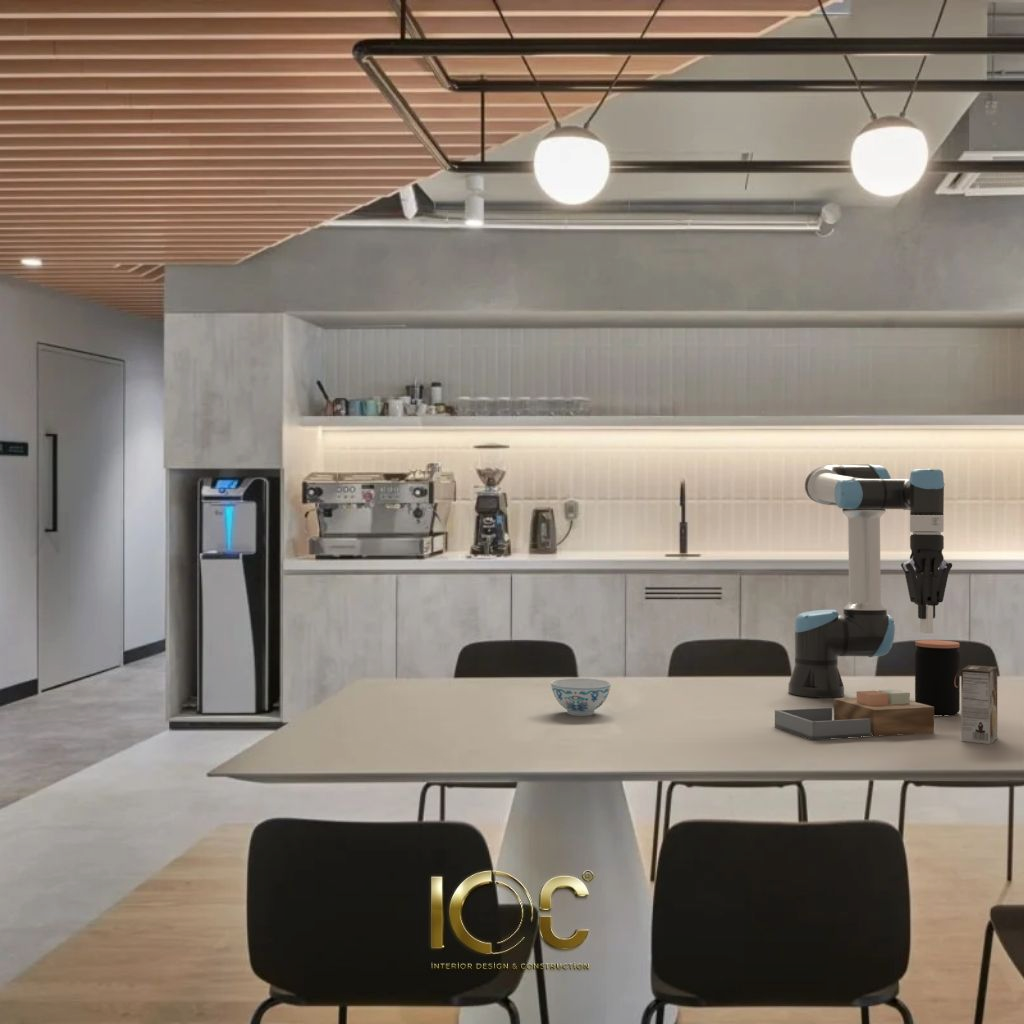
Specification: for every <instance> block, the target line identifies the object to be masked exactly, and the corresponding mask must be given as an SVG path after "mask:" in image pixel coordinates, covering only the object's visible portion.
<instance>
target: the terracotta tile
mask: <svg viewBox="0 0 1024 1024" xmlns="http://www.w3.org/2000/svg"><path fill="white" fill-rule="evenodd" d="M856 698H857V702H858V703H862V704H866V705H888V694H887V693H883V692H879V691H878V690H859V691H858V690H856Z"/></svg>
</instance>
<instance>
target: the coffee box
mask: <svg viewBox="0 0 1024 1024" xmlns="http://www.w3.org/2000/svg"><path fill="white" fill-rule="evenodd" d="M960 673H961V674H960V676H961V677H960V679H961V680H960V686H961V690H960V692H961V695H960V697H961V703H960V705H961V706H960V710H961V711H960V712H961V717H960V718H961V721H960V722H961V723H960V727H961V729H960V730H961V732H960V734H961V735H960V736H961V737H960V738H961V739H960V740H961V742H965V741H966V743H974V744H975V743H976V744H985V745H986V744H987V745H991V744H992V743H993V742H994V741H995V740H996V739H997V738H998V666H988V665H974V664H973V665H971V664H968V665H967V666H965V667H964V668H962V669H961V670H960Z"/></svg>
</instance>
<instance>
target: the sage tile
mask: <svg viewBox="0 0 1024 1024" xmlns="http://www.w3.org/2000/svg"><path fill="white" fill-rule="evenodd" d="M877 691H879V692H883V693H887V694H888V704H908V703H910V701H911V699H910V698H911V697H910V695H911V692H909V691H903V690H900V689H884V690H883V689H879V690H877Z"/></svg>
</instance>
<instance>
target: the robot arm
mask: <svg viewBox="0 0 1024 1024" xmlns="http://www.w3.org/2000/svg"><path fill="white" fill-rule="evenodd" d="M944 480H945V479H944V472H943V471H942V470H941V469H939V468H915V469H912V470H911V471H910V475H909V478H891V475H890V472H889V471H888V470H887V469H886V468H885V466H883V465H877V464H870V463H869V464H868V463H867V464H828V465H827V464H826V465H822V466H819V467H817V468H815V469H813V470H812V471H811V472H810V473H809V474H807V476H806V478H805V482H804V490H805V491H804V492H805V494H806V495H807V497H808V498H809V499H810V500H811V501H813V502H815V503H817V504H821V505H826V506H837V507H838V508H839V509H842V514H844V515H845V517H847V520H848V521H847V529H848V531H847V534H848V536H847V537H848V539H847V541H848V542H847V543H848V545H847V546H848V603H847V604H846V605H845V606H844V607H843V614H839V611H838V610H836V609H818V610H816V609H815V610H810V611H809V610H808V611H805V612H800V613H799V614H797V615H796V617H795V619H794V620H795V621H794V623H795V624H794V630H793V631H794V666H793V667H794V668H793V670H792V673H791V676H790V679H789V682H788V687H787V689H788V691H787V692H788V693H789V694H790V695H794V696H800V697H809V698H810V697H811V698H837V697H843V696H844V695H845V686H844V682H843V679H842V677H841V673H840V671H839V667H838V666H839V665H838V664H839V663H838V659H839V657H867V658H872V657H885V656H886V655H887V654H888V653H889V652H890V650H891V649H892V647H893V644H894V638H895V630H896V627H895V621H894V618H893V617H892V615H890V614H888V613H887V612H888V611H887V610H888V609H887V607H885V606H884V605H883V603H882V599H881V598H882V597H881V596H882V594H881V593H882V591H881V588H882V585H881V583H882V582H881V581H882V580H881V517H882V516H883V515H884V514H885V513H886V510H902V511H903V510H904V511H905V510H908V511H910V513H909V532H910V533H912V534H910V536H909V548H910V550H911V554H910V555H909V559H908V560H907V561H905V562H901V564H900V567H901V569H902V570H903V572H904V576H905V581H906V586H907V590H908V594H909V600H910V602H911V603H913V604H915V605H917V618H918V619H919V621H920V623H919V624H920V625H919V626H920V627H919V628H920V629H919V631H920V633H924V634H933V633H934V619H935V618H936V606H939V604H940V603H943V601H944V597H945V592H946V587H947V582H948V578H949V573H950V571H951V569H952V567H953V563H951V562H948V561H947V560H945V557H944V554H943V550H944V548H945V545H944V544H945V543H944V540H945V538H944V536H943V535H944V534H942V533H943V532H944V530H945V528H944V527H945V524H944V521H945V519H944V518H945V516H944V515H945V514H944V512H945V511H944V507H945V504H944V503H945V501H944V500H945V497H944V496H945V485H946V484H945V482H944Z"/></svg>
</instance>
